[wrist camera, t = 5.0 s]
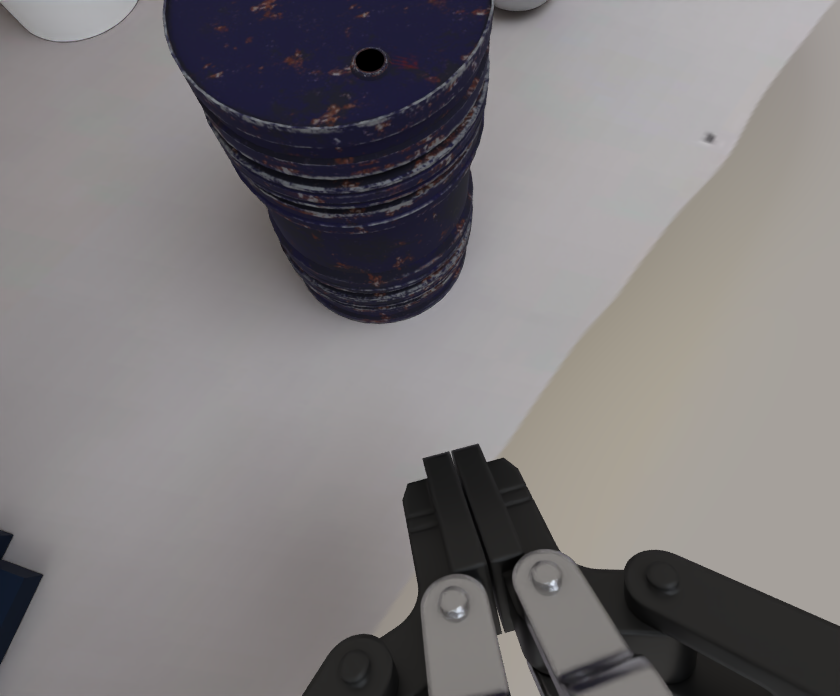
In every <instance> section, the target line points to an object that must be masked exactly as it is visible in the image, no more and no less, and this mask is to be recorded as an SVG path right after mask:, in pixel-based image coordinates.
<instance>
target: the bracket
mask: <svg viewBox="0 0 840 696" xmlns="http://www.w3.org/2000/svg"><path fill="white" fill-rule="evenodd" d="M137 1H138V0H0V3H1V4H2V5H3V6H4V7H5V8H6V9H7V10H8V11H9V12H10V13H11V14H12V15H13V16H14V17H15V18H16V19H17V20H18V21H19V22H20V23H21V24H22V25H23V26H24V27H25V28H26V29H27V30H28V31H29V32H31V33H32V34H34V35H36V36H38V37H40V38H43V39H46V40H51V41H59V42H69V41H78V40H83V39H87V38H90V37H93V36H96V35H99V34H101V33H103V32H105V31H107V30H109V29H111V28H112V27H114V26H115V25H117V24H118V23H119V22H121V21H122V20H123V19H124V18H125V17H126V16H127V15H128V14H129V13H130V12H131V10H132V9H133V8H134V6H135V5H136V3H137Z"/></svg>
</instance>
